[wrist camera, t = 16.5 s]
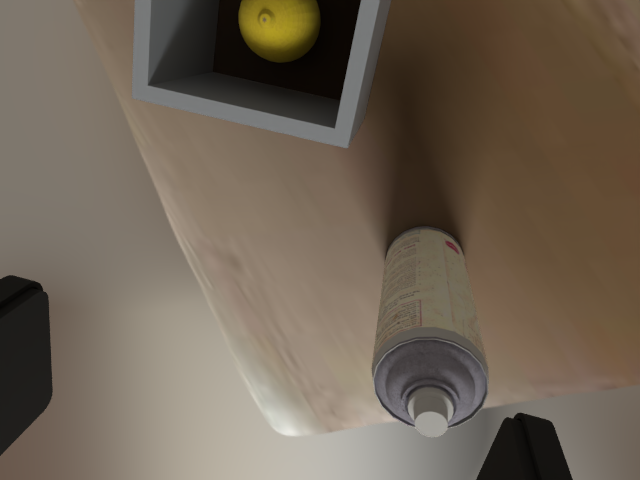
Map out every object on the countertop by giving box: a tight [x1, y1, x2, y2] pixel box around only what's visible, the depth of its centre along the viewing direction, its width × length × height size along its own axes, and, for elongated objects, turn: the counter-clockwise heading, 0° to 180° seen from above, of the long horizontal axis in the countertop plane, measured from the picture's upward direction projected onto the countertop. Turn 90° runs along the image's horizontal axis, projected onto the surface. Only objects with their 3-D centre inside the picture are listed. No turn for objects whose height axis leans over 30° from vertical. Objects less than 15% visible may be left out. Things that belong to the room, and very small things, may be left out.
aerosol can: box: [372, 226, 489, 437], centre depth 35 cm, size 7×7×20 cm
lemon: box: [239, 0, 321, 63], centre depth 35 cm, size 6×6×8 cm
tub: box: [132, 0, 391, 148], centre depth 33 cm, size 14×12×11 cm
